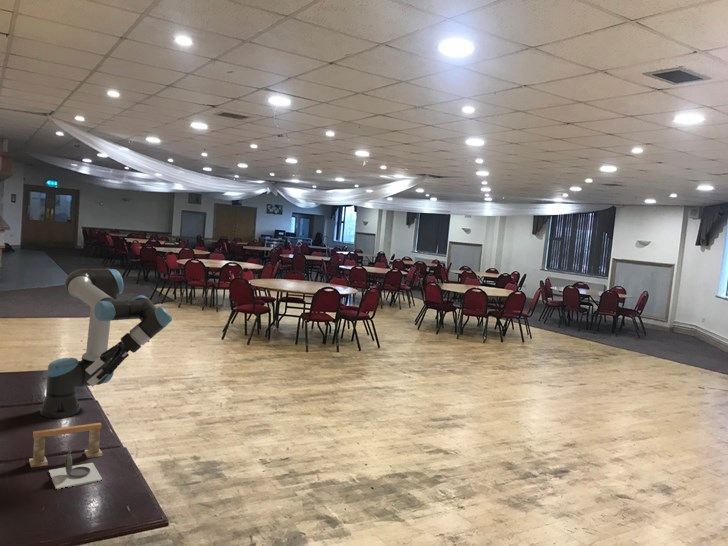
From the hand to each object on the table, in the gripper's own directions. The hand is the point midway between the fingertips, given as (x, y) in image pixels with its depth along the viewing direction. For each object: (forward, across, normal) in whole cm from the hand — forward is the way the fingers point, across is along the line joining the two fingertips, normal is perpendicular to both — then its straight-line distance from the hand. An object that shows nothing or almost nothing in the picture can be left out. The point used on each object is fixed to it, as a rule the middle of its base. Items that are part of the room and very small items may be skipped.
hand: (88, 378), depth 205 cm
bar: (+17, -5, -9) cm, 20 cm away
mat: (+22, -20, -18) cm, 35 cm away
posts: (+24, -6, -16) cm, 30 cm away
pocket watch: (+22, -20, -17) cm, 34 cm away
